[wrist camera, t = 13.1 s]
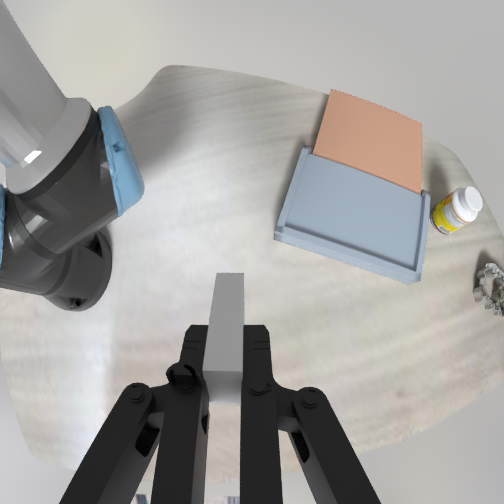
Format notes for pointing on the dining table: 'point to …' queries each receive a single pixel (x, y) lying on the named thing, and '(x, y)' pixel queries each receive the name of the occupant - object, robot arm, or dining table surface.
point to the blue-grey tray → (355, 218)
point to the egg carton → (483, 289)
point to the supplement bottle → (456, 210)
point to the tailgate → (371, 140)
